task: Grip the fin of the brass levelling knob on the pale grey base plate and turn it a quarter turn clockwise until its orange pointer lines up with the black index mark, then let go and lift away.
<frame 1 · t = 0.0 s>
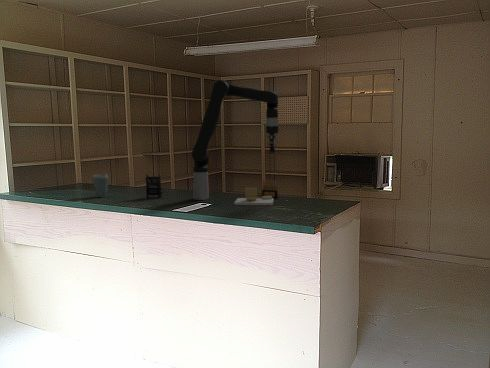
hand: (272, 152, 267), 29 cm above the countertop, fingers open, 8 cm apart
geiger counter: (154, 197, 284), on the countertop
disposable coffee cup: (101, 197, 289), on the countertop
base plate: (254, 202, 259), on the countertop
ammunition clip: (270, 198, 277), on the countertop
levelling knob: (252, 193, 260), point 5 cm above the countertop, hinge at 0.0°
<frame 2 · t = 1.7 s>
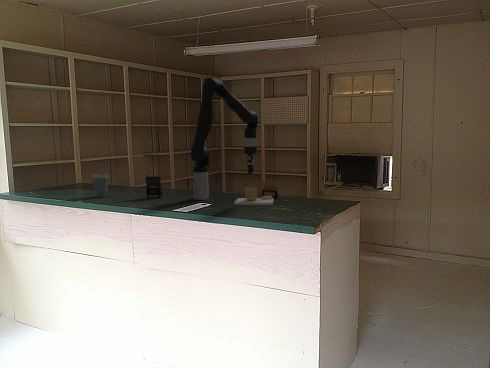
hand: (251, 173, 258), 18 cm above the countertop, fingers open, 8 cm apart
nothing on the countertop moved.
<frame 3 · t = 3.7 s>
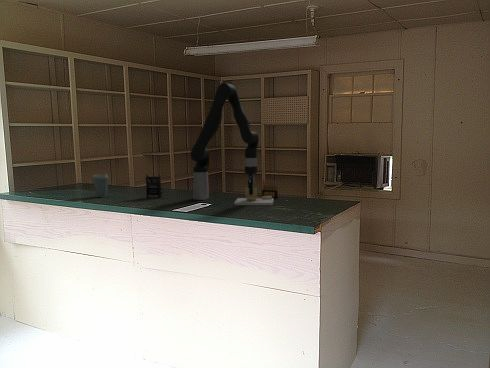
hand: (251, 194, 260), 5 cm above the countertop, fingers closed on levelling knob
levelling knob: (252, 193, 260), point 5 cm above the countertop, hinge at 0.0°, touching gripper
everything else where it was.
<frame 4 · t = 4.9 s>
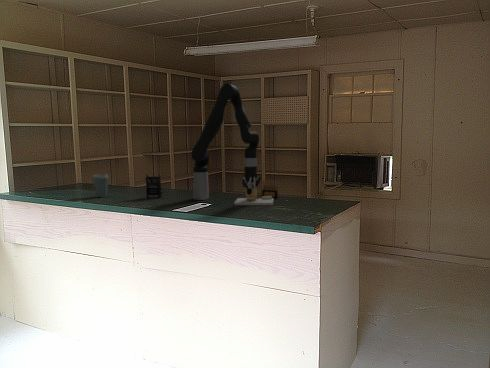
hand: (250, 194, 260), 5 cm above the countertop, fingers closed on levelling knob, 2 cm apart
levelling knob: (252, 193, 259), point 5 cm above the countertop, hinge at -28.8°, touching gripper
everything else where it was.
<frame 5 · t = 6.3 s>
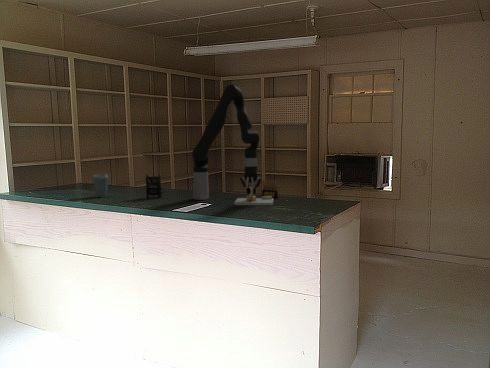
hand: (251, 194, 260), 5 cm above the countertop, fingers closed on levelling knob, 2 cm apart
levelling knob: (251, 194, 259), point 5 cm above the countertop, hinge at -77.5°, touching gripper
everything else where it was.
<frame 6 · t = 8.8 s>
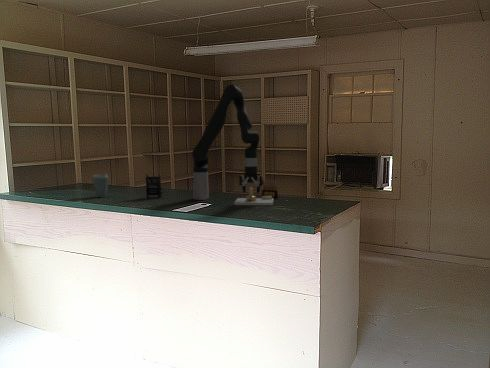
hand: (251, 192, 260), 6 cm above the countertop, fingers open, 8 cm apart
levelling knob: (251, 194, 259), point 5 cm above the countertop, hinge at -86.9°
everything else where it was.
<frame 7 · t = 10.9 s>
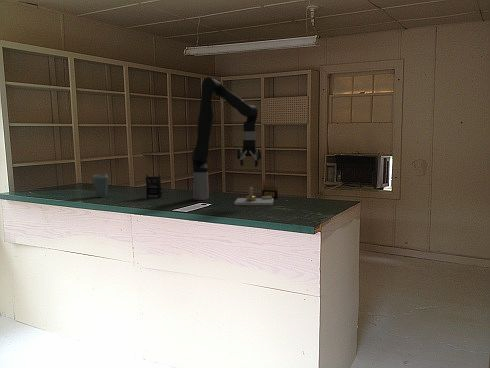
hand: (249, 166, 260), 21 cm above the countertop, fingers open, 8 cm apart
levelling knob: (251, 194, 259), point 5 cm above the countertop, hinge at -87.3°
everything else where it was.
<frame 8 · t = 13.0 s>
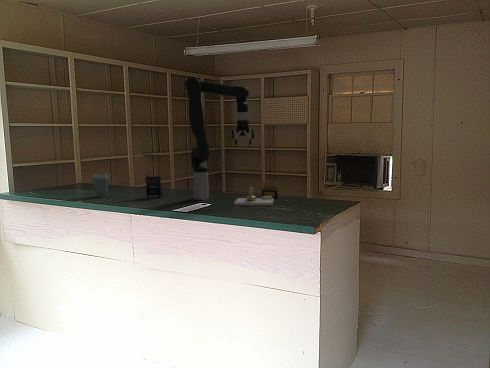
hand: (243, 145, 276), 33 cm above the countertop, fingers open, 8 cm apart
nothing on the countertop moved.
at the end: levelling knob at -87° (first picture: +0°); the gripper is holding nothing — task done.
